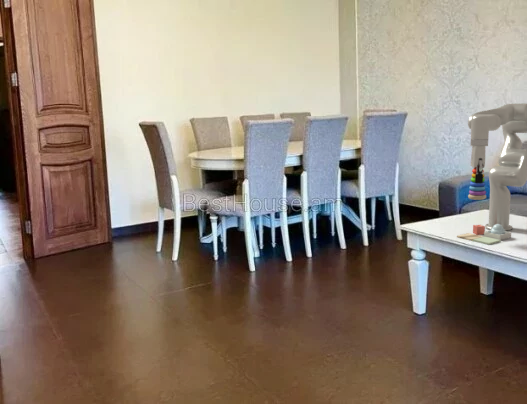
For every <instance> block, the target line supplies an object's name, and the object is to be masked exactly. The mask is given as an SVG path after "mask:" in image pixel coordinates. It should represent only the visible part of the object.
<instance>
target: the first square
mask: <svg viewBox="0 0 527 404" xmlns="http://www.w3.org/2000/svg"><path fill="white" fill-rule="evenodd" d="M481 237H484V235H476V234H474V233H470V232H466V233H462V234H459V235H456V239H457V238H459V239H462V240H468V241H470V242H471V241H472V242H474V241H473V239H477V238H481Z"/></svg>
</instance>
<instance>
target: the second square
mask: <svg viewBox="0 0 527 404" xmlns="http://www.w3.org/2000/svg"><path fill="white" fill-rule="evenodd" d="M501 241H502V240H498V239H493V238H489V237H481V238H477V239H473V241H472V242H475V243H480V244H484V245H489V246H490V245H493V244H497V243H501Z"/></svg>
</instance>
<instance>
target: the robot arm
mask: <svg viewBox="0 0 527 404" xmlns="http://www.w3.org/2000/svg"><path fill="white" fill-rule="evenodd" d="M467 126H468V128H469V129H470V147H471V154H470V155H471V156H470V166H471V167H472V168H473V169H475V167H476V174H475V183H483V178H484V177H483V174H484V172H483V170H484V168H485V166H486V147H489V132H494V131H498V130H499V128H500V127H501V128H502V133H503V139H504V142H503V145H502V148H501V150H500V153H499V155H498V159H497V160H498V161H497V163H498V165H497V166H496V165H495V166H493V167H491V168H490V170H489V171H488V180H489V211H488V223H486V224H485V225H484V226H485V229H487V230H489V231H490V230H491V228H493V226H494V225H495V224H500V225H502V226H503V229H505V231H507V232H508V231H511V230H513V225H511V224H510V214H511V212H510V209H511V191H510V189H509V188H508V187H518V188H521V187H523V186H524V185H526V183H527V149H522V148H523V142H522V140H521V138H520V137H519V136H518V135H517V134H527V103H506V104H504V105H502V106H500V107H497V108H492V109H491V108H490V109H486V110H482V111H477V112H475V113H473V114H471V115H470V116H469V118H468V120H467ZM477 166H479V167H477Z"/></svg>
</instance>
